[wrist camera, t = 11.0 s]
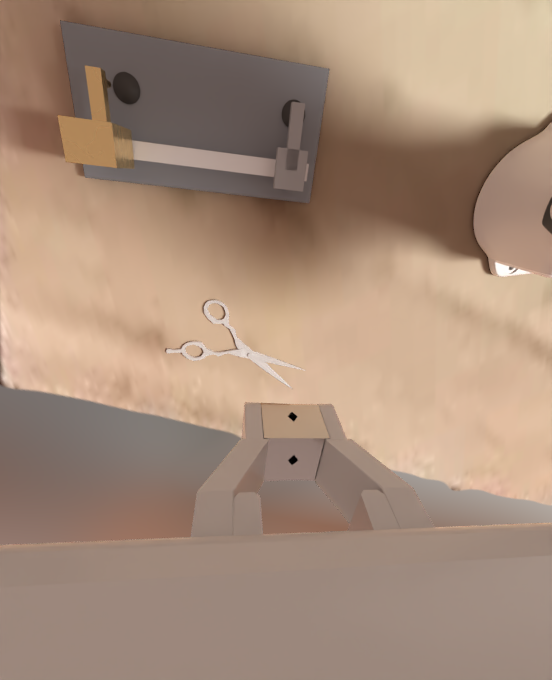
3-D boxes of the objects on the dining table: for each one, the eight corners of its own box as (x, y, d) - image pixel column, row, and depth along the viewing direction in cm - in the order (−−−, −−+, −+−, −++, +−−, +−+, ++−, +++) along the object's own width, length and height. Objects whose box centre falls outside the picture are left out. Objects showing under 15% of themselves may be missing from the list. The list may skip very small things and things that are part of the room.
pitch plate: (326, 71, 31) (337, 58, 27) (307, 202, 36) (314, 205, 33) (65, 25, 27) (40, 3, 24) (89, 177, 33) (70, 177, 29)
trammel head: (130, 80, 28) (104, 59, 23) (137, 168, 31) (116, 168, 26) (83, 73, 28) (45, 49, 22) (96, 163, 31) (65, 161, 26)
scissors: (199, 290, 40) (321, 356, 46) (200, 288, 40) (320, 354, 47) (165, 352, 44) (282, 404, 50) (166, 349, 44) (281, 401, 51)
